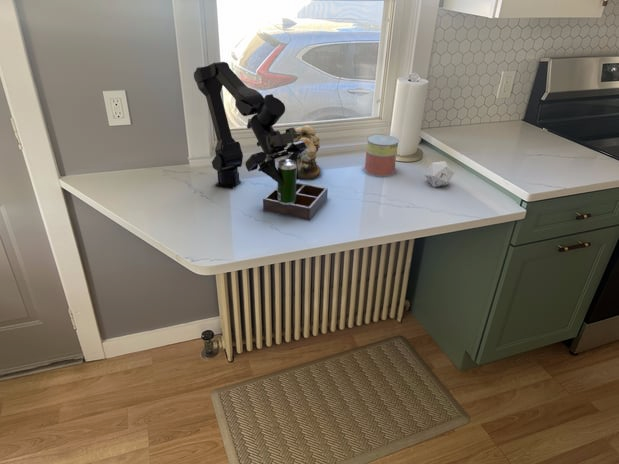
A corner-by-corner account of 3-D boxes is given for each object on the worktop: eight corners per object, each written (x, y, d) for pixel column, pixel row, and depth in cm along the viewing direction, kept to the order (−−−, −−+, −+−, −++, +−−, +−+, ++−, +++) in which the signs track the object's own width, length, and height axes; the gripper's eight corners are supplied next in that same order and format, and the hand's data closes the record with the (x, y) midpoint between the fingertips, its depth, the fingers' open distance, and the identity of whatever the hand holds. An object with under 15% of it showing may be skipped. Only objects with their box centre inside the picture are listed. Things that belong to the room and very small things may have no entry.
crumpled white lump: (419, 186, 165) (432, 171, 156) (424, 166, 169) (437, 151, 160) (440, 195, 165) (454, 182, 156) (445, 176, 169) (460, 161, 160)
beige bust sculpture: (281, 163, 178) (281, 119, 170) (311, 160, 182) (312, 117, 173) (294, 181, 164) (295, 134, 155) (326, 178, 167) (328, 132, 158)
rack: (263, 210, 144) (262, 198, 142) (283, 191, 157) (283, 179, 155) (309, 220, 140) (310, 208, 138) (327, 199, 152) (327, 188, 150)
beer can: (283, 206, 133) (283, 167, 126) (274, 199, 136) (273, 161, 130) (299, 202, 135) (300, 164, 129) (290, 195, 139) (290, 157, 133)
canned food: (396, 176, 170) (400, 145, 163) (365, 176, 170) (368, 144, 163) (392, 165, 179) (396, 134, 173) (363, 164, 179) (365, 134, 173)
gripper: (250, 125, 121) (276, 178, 120) (303, 113, 132) (328, 161, 131) (234, 146, 130) (259, 195, 129) (286, 132, 141) (309, 178, 140)
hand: (290, 182), depth 132 cm, fingers closed on beer can, 5 cm apart
